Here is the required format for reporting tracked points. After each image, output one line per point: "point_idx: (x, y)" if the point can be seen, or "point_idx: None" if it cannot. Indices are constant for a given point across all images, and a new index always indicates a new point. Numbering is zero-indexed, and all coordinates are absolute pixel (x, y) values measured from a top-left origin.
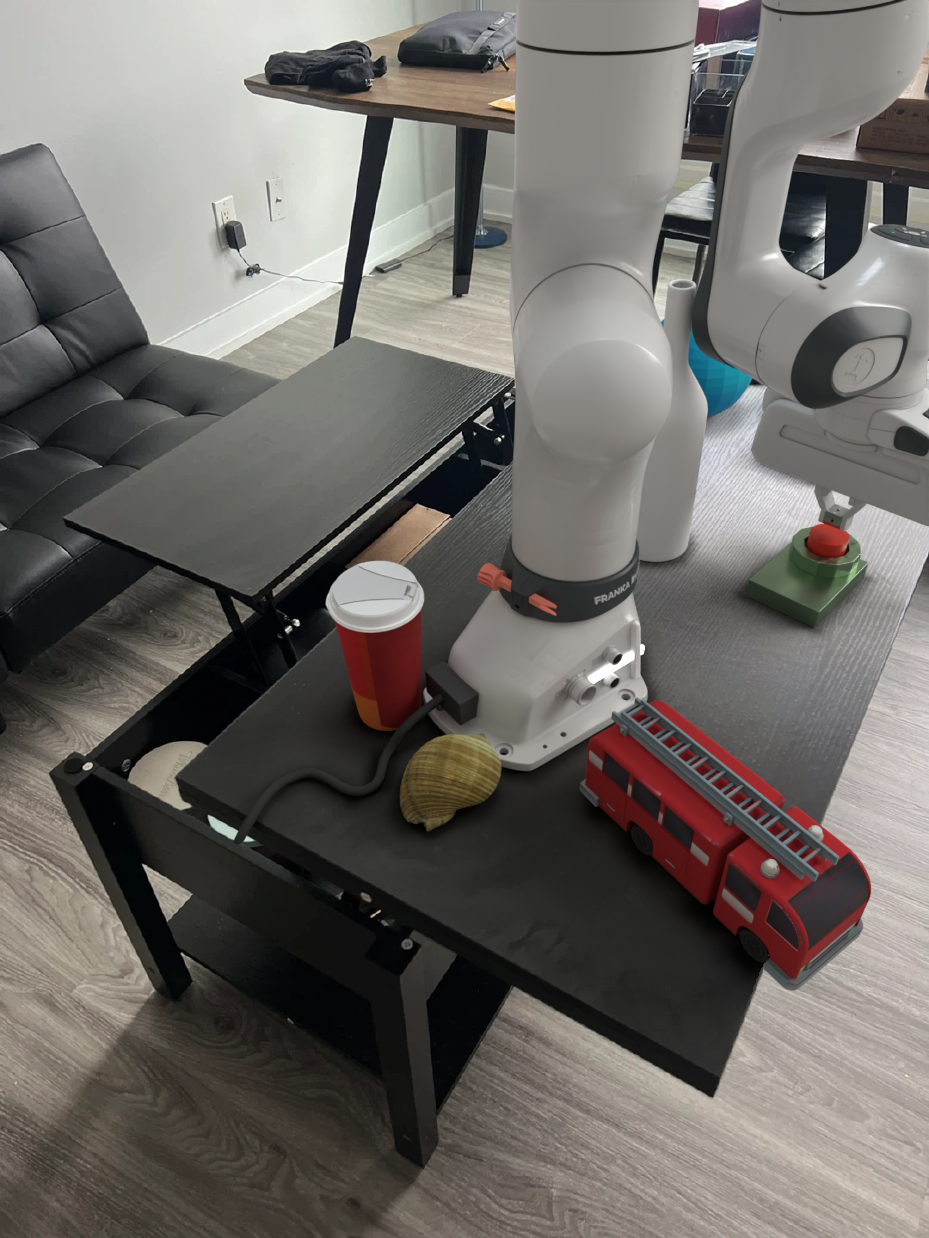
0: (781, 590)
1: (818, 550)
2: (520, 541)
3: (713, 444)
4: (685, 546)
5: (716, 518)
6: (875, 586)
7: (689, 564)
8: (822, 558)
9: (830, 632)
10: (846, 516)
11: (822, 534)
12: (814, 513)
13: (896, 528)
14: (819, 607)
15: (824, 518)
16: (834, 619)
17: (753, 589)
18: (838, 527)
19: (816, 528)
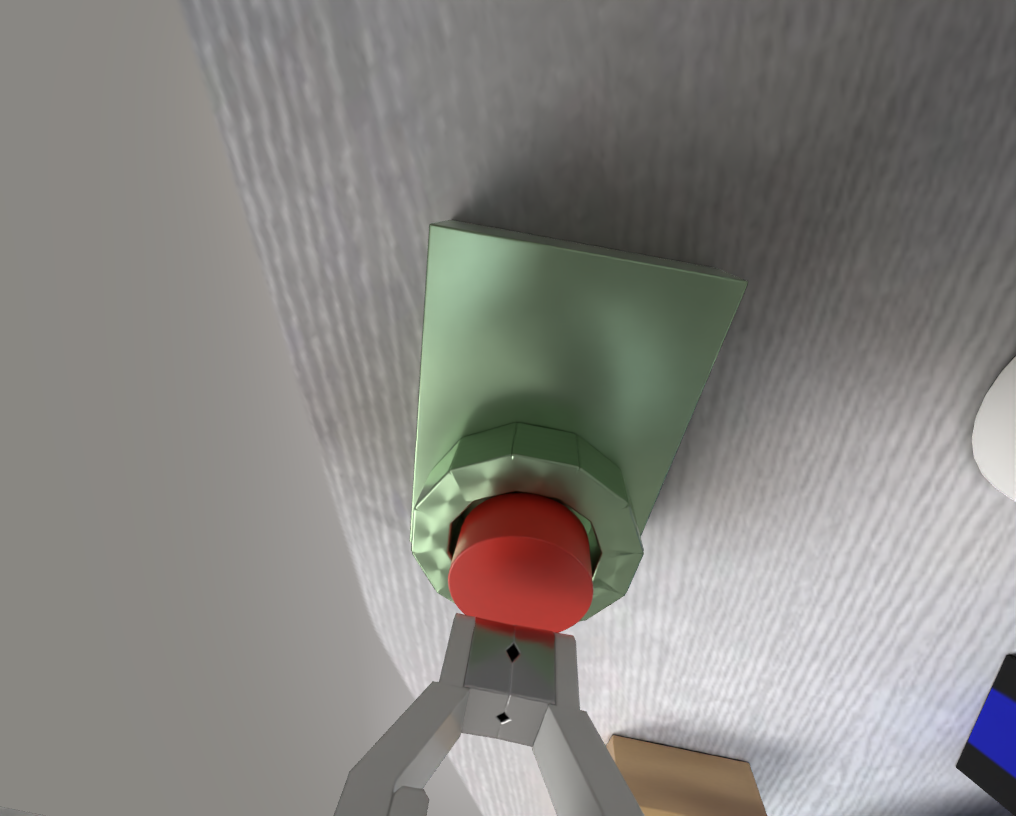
0: (603, 280)
1: (534, 511)
2: None
3: (885, 786)
4: (1012, 403)
5: (861, 579)
6: (390, 488)
7: (956, 340)
8: (509, 482)
9: (400, 230)
10: (442, 696)
11: (542, 582)
12: (607, 661)
13: (438, 666)
14: (440, 253)
15: (550, 656)
16: (417, 304)
17: (706, 270)
18: (480, 625)
19: (574, 604)
